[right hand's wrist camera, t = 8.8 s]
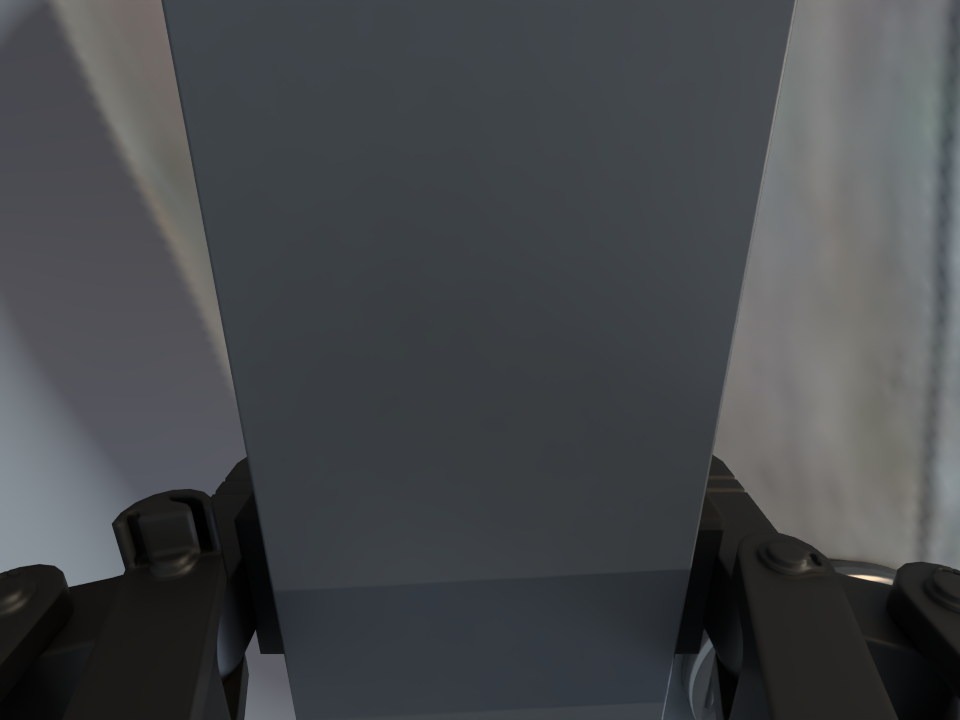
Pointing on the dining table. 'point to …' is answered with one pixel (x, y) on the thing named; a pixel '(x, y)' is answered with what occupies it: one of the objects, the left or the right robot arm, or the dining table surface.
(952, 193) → the dining table surface
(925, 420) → the dining table surface
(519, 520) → the bar
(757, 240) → the dining table surface
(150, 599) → the right robot arm
